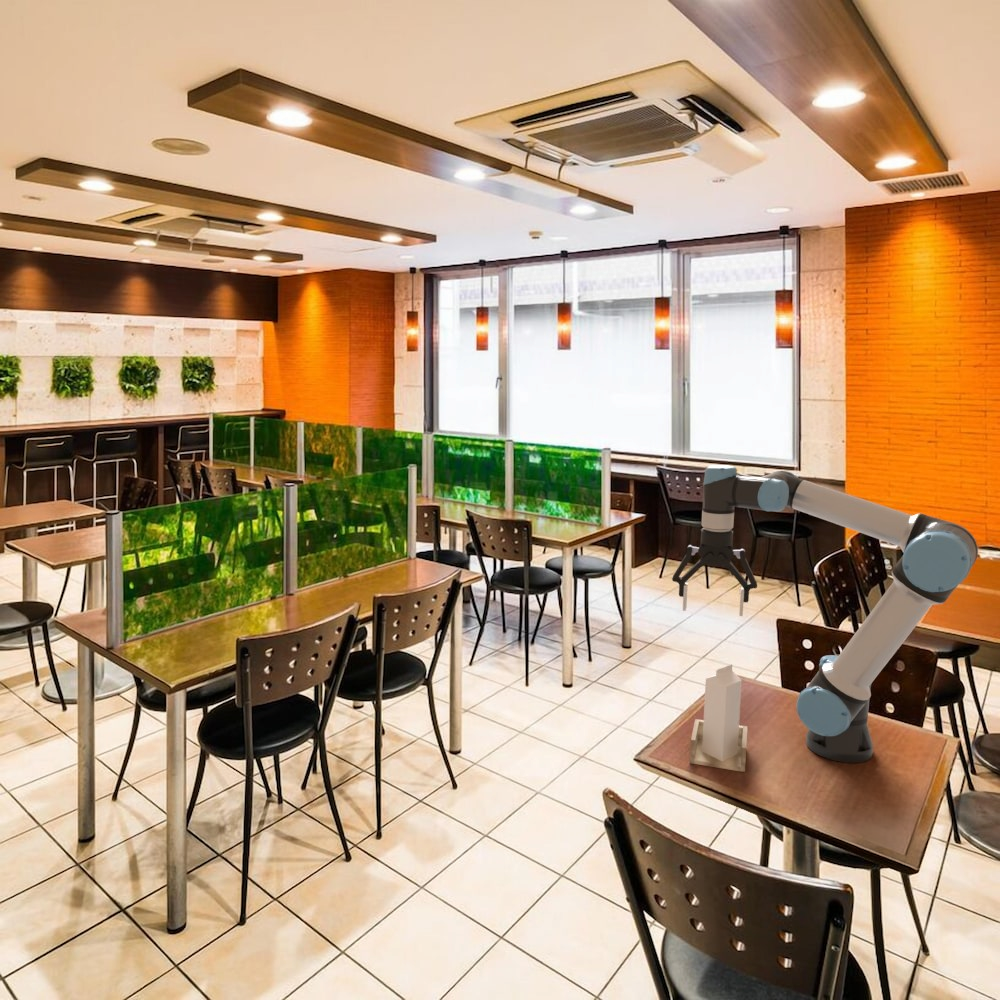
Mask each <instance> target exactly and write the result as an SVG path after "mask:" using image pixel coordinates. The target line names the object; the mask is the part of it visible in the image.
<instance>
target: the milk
mask: <svg viewBox="0 0 1000 1000" xmlns="http://www.w3.org/2000/svg"><path fill="white" fill-rule="evenodd" d="M742 682H743V680H742V679H741V678H740V677H739V676H738V675H737V673H735V671H733V664H732V663H731V664H728V665H725V666H723V667H720V668H717V669H716V671H715V674H714V675H711V676H709V677H706V678H705V686H704V687H705V689H704V703H703V720H704V722H703V741H702V752H703V753H705V754H707V755H709V756H711V757H714V758H716V759H718V760H720V761H724V760H726V759H728V758H731V757H733V756H735V755H737V751H738V735H739V725H740V719H741V718H740V715H741V701H742Z"/></svg>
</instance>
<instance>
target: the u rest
mask: <svg viewBox="0 0 1000 1000" xmlns="http://www.w3.org/2000/svg"><path fill="white" fill-rule="evenodd" d="M703 722H704V719H698V718H695V719H694V723H693V728H692V734H691V739H690V749H689V750H690V752H689V753H690V755H689V764H694V765H700V766H706V767H713V768H718V769H723V770H730V771H736V772H741V773H743V772H744V773H745V772H746V762H747V761H746V759H747V757H746V756H747V743H748V742H747V741H748V726H747V725H740V724H739V735H738V751H737V755H735V756H733V757H731V758H728V759H726V760H724V761H720V760H718V759H716V758H714V757H711V756H709V755H707V754H705V753H703V752H702V741H703Z"/></svg>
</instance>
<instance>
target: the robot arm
mask: <svg viewBox="0 0 1000 1000" xmlns="http://www.w3.org/2000/svg"><path fill="white" fill-rule="evenodd" d="M702 485H703V489H702V490H703V492H702V493H703V494H702V495H703V496H702V511H701V526H702V528H701V529H700V545H699V546H698V547H697V546H693V545H692V544H688V546H687V548H686V554H685V555H684V557H683V558H682V560H681V562H680V563H679V566H678V567H677V568H676V570H675V572H674V573H673V575H672V577H671V580H672V582H675V583H678V585H679V586H678V595H679V597H681V598H682V611H683V612H684V611H687V602H688V585H689V583H688V582H687V581H689V579H690V578H691V577H692V576H693V575H695V574H696V573H697V572H698V571H699V570H700V569H701V568H702V567H704V566H705V564H706V565H707V566H708V567H709V566H710V567H714V566H715V567H721V568H722V567H724V566H725V567H726V568H727V569H728V570H729V572H730V573H731V575H733V577H734V578H735V579H736V580H737V582H738V583H739V584H740V586H741V587H740V596H739V597H740V599H739V611H738V612H739V616H738V617H743V614H744V613H743V612H744V603H748V602H749V600H750V599H749V597H750V590H752V589H757V588H758V583H757V580H756V578H755V576H754V573H753V571H752V569H751V566H750V564H749V562H748V560H747V558H746V549H745V548H740V549H733V541H734V539H733V537H734V531H733V530H732V529H733V528H734V523H735V521H734V519H735V507H736V508H743V509H750V510H757V511H758V510H759V511H765V512H777V513H778V512H782V511H783V510H785V508H789V509H793V510H796V511H799V512H802V513H804V514H808V515H809V516H812V517H816V518H818V519H821V520H824V521H827V522H830V523H833V524H835V525H838V526H840V527H842V528H843V527H844V528H847V529H849V530H852V531H855V532H858V533H861V534H863V535H866V536H869V537H872V538H874V539H877V540H880V541H883V542H886V543H889V544H892V545H895V546H897V547H899V548H900V549H901V551H902V553H903V555H902V556H901V558H900V559H898V561H897V563H896V564H895V566H893V568H892V569H891V576H892V578H893V579H892V580H893V581H892V583H891V584H890V586H889V587H888V588H887V589H886V591H885V592H884V594H883V595H882V596H881V598H880V599H879V600H878V602H877V603H876V604H875V606H874V607H873V608H872V610H871V611H870V613H869V614H868V615H867V617H866V618H865V619H864V621H863V622H862V624H861V625H860V626H859V627H858V629H857V631H855V633H854V635H853V636H852V637H851V638H850V639H849V641H848V642H847V644H846V645H845V647H844V648H843V650H842V651H841V652H840V654H839V655H835V654H829V655H824V656H822V657H821V658H820V660H819V664H818V666H819V670H818V671H817V673H816V674H815V675H814V677H813V678H812V680H811V681H810V682H809V683H808V684H807V686H806V688H804V689H803V690H801V691H800V693H799V694H798V698H797V701H796V704H795V705H796V711H797V715H798V717H799V718H798V719H799V720H800V721H801V723H803V725H804V726H805V727H806V728H807V729H808V730H807V731H806V732H807V733H806V738H805V739H806V740H805V743H806V746H807V747H808V748H809V750H811V751H812V752H813V753H815V754H816V755H818V756H820V757H822V758H825V759H829V760H832V761H836V762H841V763H848V764H852V763H853V764H855V763H862V762H867V761H869V760H870V759H871V758H872V757H873V752H874V744H873V740H872V736H871V733H870V729H869V725H868V720H869V719H868V718H869V706H870V698H871V696H872V693H871V687H872V683H873V682H874V681H875V679H876V678H877V677H878V675H879V674H880V673H881V671H882V670H883V669H884V668H885V667H886V665H887V664H888V663H889V661H890V660H891V659H892V658H893V656H894V655H895V654H896V653H897V651H898V650H899V649H900V647H901V646H902V644H903V643H904V642H905V641H906V639H907V638H908V637H909V636H910V634H911V633H912V632H913V630H914V629H915V628H916V626H917V625H918V624H919V622H920V621H921V620H922V619H923V617H924V616H925V615H926V614H927V612H928V611H929V610H930V608H931V607H932V606H934V605H935V606H936V605H943V604H944V603H946V601H947V600H948V599H949V598H950V596H951V595H952V594H953V592H954V591H955V590H956V589H957V587H959V585H961V583H963V581H965V579H966V578H967V577H968V575H969V574H970V571H971V569H972V567H973V566H974V565H975V563H976V561H977V558H978V553H979V547H978V544H977V541H976V540H977V539H976V538H975V537H974V535H973V534H972V533H971V532H970V531H969V529H967V528H965V527H963V526H962V525H959V524H957V523H956V522H951V521H949V520H945V519H941V518H938V517H933V516H930V515H927V514H925V513H920V512H919V513H915V514H914V515H913V514H909V513H906V512H903V511H901V510H897V509H893V508H891V507H887V506H885V505H882V504H879V503H875V502H872V501H870V500H866V499H864V498H860V497H858V496H854V495H852V494H848V493H845V492H842V491H839V490H837V489H833V488H830V487H827V486H825V485H820V484H817V483H814V482H811V481H808V480H806V479H802V478H800V477H797V475H795V474H794V473H793V472H791V471H788V470H777V471H774V472H772V473H769V474H766V475H763V476H760V477H758V476H756V477H755V476H744V475H739V474H738V470H737V467H736V466H733V465H726V464H725V465H724V464H713V465H708V466H707V467H706V468H705V470H704V477H703V483H702ZM696 553H698V555H699V556H700V557H701V558H700V559H699V560H697V562H696V563H695V564H694V565H693V566H691V568H689V570H688V571H687V572H685V573H684V574H683V576H681V574H682V572H683V571H684V569H685V568H686V566H687V565H688V563H689V561H690V560H691V557H692V556H695V555H696ZM734 556H736V558H737V559H739V560H740V563H741V566H742V567H743V569H744V571H745V572H744V573H746V576H747V578H748V581H749V582H748V581H747V580H746V579H745V578H744V576H743V575H742V574H741V573H740V571H739V569H737V567H736V566H735V565H734V563H733V562H732V560H731V559H732V558H733V557H734Z"/></svg>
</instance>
